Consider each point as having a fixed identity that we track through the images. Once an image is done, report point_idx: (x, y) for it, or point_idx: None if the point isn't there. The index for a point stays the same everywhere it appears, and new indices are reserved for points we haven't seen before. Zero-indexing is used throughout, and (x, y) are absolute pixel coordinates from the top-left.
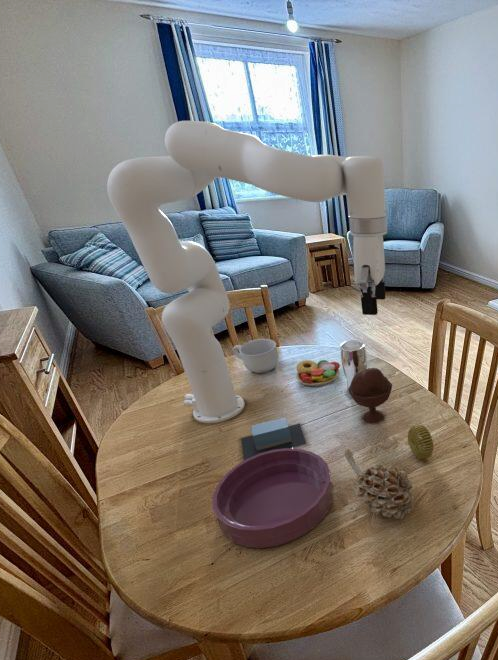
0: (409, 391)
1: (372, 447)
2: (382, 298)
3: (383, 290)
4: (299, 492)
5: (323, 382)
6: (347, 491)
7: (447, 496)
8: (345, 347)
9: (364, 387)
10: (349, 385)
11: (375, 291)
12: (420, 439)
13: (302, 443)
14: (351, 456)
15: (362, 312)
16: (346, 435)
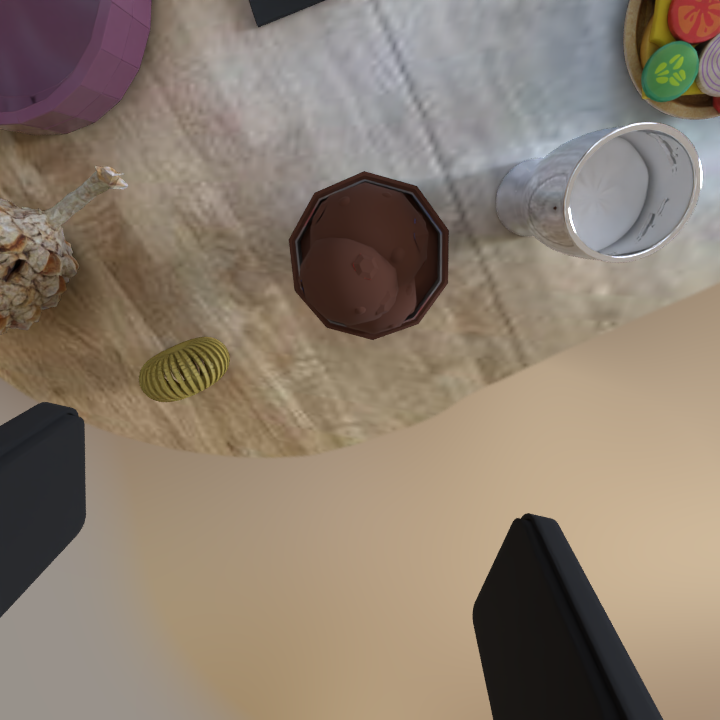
0: (489, 363)
1: (237, 239)
2: (480, 604)
3: (497, 714)
4: (45, 33)
5: (628, 50)
6: (78, 172)
7: (84, 384)
8: (671, 152)
9: (312, 243)
10: (527, 169)
11: (527, 630)
12: (141, 376)
13: (258, 10)
14: (96, 185)
15: (30, 408)
16: (295, 163)
